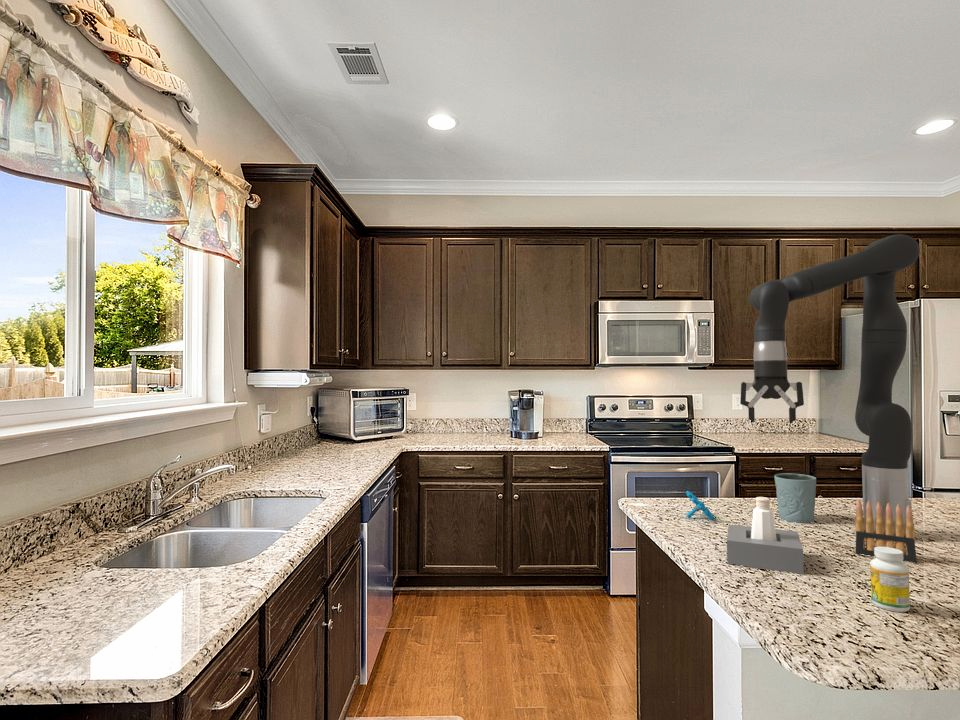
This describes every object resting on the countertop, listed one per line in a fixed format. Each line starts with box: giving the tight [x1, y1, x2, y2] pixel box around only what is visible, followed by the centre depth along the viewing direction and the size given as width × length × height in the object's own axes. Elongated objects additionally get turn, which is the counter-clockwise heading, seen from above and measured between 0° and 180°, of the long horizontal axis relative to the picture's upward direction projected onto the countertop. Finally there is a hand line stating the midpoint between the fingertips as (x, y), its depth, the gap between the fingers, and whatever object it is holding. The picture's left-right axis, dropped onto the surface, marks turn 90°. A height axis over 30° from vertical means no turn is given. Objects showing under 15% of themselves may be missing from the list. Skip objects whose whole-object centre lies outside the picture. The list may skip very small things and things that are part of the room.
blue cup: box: [773, 472, 817, 524], centre depth 150 cm, size 10×10×12 cm
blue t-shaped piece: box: [685, 490, 716, 521], centre depth 152 cm, size 11×6×10 cm
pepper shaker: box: [751, 496, 777, 541], centre depth 118 cm, size 5×5×11 cm
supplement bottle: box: [869, 547, 911, 613], centre depth 93 cm, size 5×5×10 cm
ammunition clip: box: [854, 499, 918, 564], centre depth 119 cm, size 11×2×12 cm, turn 55°
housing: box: [726, 523, 805, 575], centre depth 117 cm, size 14×14×5 cm
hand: (771, 422), depth 138 cm, fingers open, 8 cm apart
